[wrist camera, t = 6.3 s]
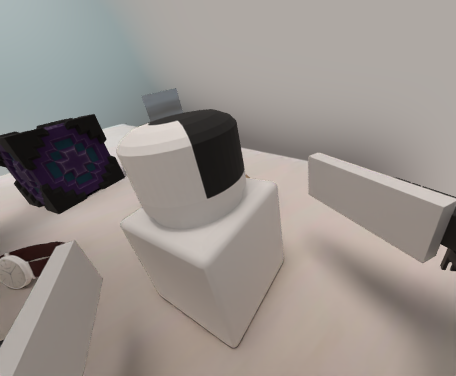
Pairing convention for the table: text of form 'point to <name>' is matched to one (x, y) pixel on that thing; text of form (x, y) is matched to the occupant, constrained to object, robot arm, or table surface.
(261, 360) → the table surface
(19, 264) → the watch
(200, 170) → the medicine bottle
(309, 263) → the table surface
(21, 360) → the robot arm
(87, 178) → the energy cube
